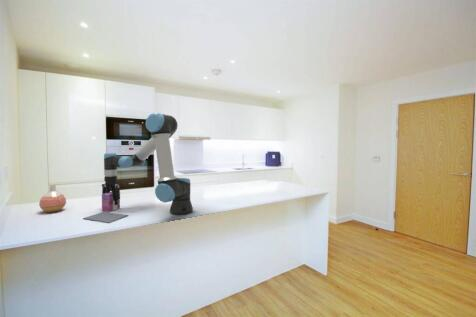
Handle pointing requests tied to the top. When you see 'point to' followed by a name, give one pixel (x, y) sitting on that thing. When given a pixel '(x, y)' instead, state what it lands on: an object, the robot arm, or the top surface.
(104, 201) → the box
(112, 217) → the mat
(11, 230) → the top surface
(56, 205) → the vase
